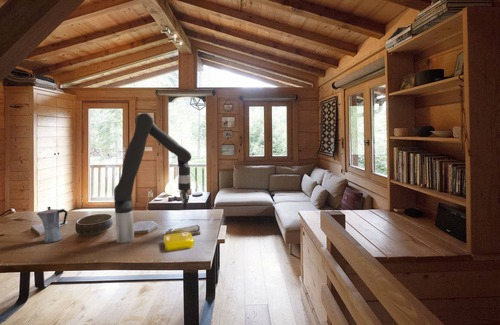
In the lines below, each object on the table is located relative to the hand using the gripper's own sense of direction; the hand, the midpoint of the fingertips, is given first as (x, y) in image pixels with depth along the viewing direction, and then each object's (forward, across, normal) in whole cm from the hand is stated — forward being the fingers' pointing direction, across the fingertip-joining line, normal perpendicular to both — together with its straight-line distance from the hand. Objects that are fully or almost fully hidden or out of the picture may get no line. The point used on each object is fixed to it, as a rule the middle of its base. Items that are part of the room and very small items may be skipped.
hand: (184, 208), depth 179 cm
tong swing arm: (+12, +7, -1) cm, 14 cm away
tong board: (+14, +7, -3) cm, 16 cm away
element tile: (+15, +21, -10) cm, 28 cm away
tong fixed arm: (+12, +8, -3) cm, 15 cm away
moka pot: (+16, -22, -71) cm, 76 cm away
